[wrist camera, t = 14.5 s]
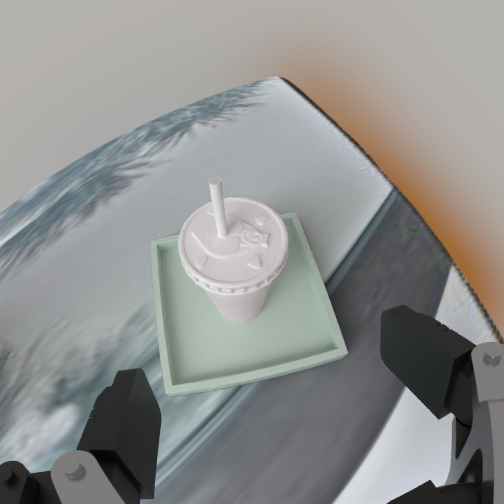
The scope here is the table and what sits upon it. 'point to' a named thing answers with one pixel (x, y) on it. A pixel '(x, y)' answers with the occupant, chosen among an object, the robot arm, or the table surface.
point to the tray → (242, 334)
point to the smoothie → (234, 251)
